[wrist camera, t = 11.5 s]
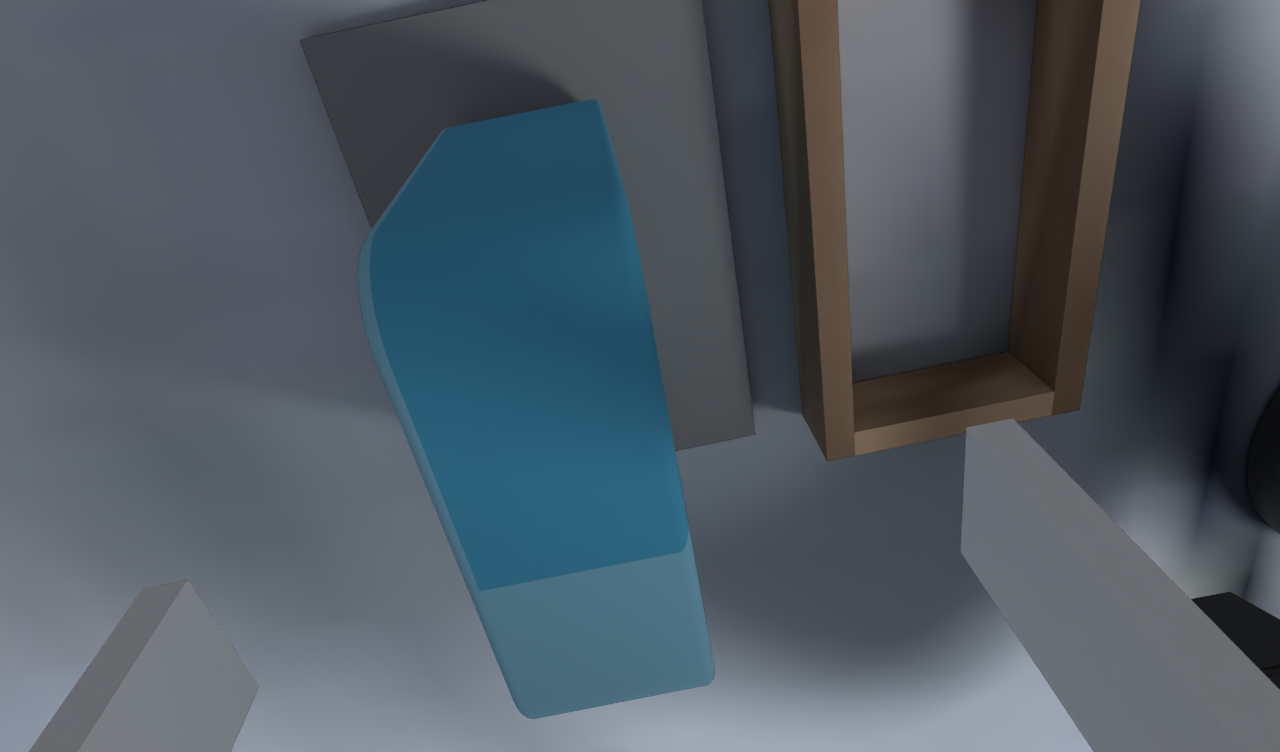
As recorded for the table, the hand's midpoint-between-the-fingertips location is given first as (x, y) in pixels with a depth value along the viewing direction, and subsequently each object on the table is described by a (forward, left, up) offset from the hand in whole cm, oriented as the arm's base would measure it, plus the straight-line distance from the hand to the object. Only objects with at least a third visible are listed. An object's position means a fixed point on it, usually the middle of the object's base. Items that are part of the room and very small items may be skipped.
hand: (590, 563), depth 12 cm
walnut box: (-12, 0, -14) cm, 18 cm away
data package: (0, 0, -13) cm, 13 cm away
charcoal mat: (0, 0, -14) cm, 14 cm away
